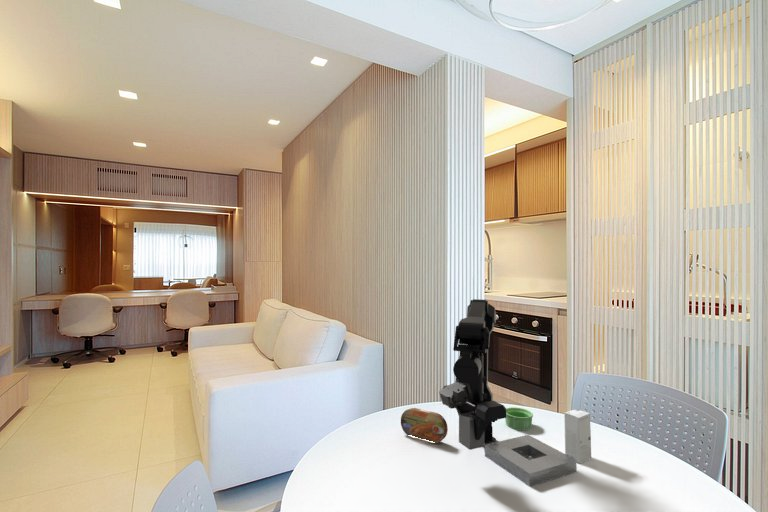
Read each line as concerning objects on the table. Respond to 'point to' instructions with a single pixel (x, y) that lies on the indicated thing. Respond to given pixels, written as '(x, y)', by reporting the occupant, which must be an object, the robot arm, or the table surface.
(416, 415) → the tin
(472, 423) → the tall grey square pillar
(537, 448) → the square hole plate
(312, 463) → the table surface
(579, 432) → the skincare box
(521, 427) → the ramekin
